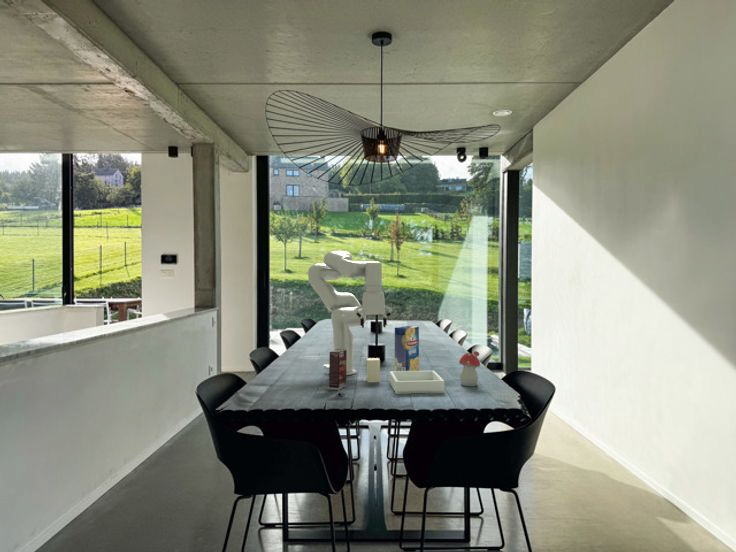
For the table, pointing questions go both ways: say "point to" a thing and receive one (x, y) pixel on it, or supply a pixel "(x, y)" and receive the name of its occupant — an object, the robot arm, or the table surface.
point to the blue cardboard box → (407, 348)
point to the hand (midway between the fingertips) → (373, 327)
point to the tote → (416, 382)
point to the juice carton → (373, 369)
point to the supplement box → (337, 369)
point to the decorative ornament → (469, 369)
